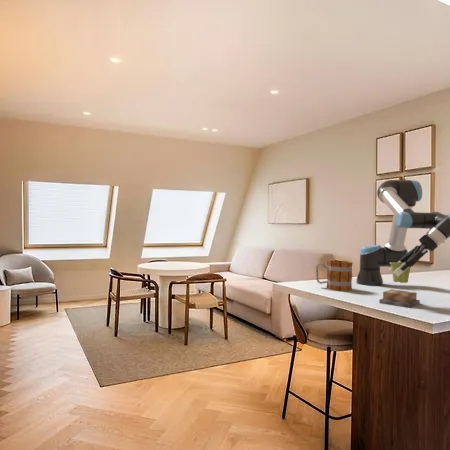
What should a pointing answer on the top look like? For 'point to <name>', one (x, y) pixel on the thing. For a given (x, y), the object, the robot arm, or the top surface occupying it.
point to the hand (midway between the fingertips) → (393, 273)
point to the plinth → (399, 298)
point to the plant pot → (404, 276)
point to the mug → (337, 275)
